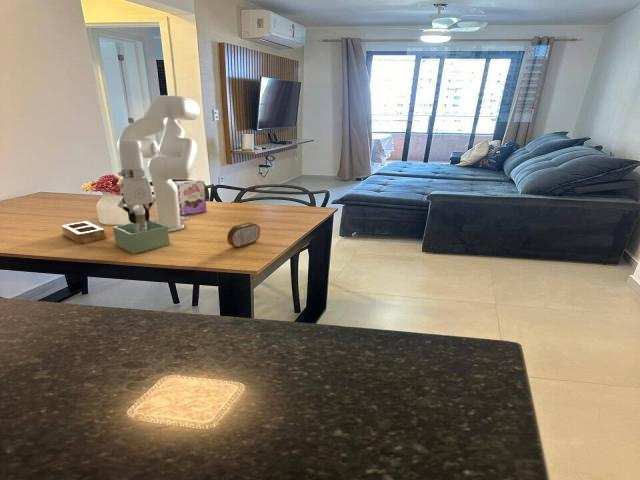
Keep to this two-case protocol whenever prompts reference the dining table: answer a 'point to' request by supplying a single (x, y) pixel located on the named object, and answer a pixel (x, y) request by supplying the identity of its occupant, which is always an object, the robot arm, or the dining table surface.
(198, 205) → the candy box
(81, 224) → the rack
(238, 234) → the tin
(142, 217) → the sprinkles bottle
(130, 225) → the basin
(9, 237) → the dining table surface
